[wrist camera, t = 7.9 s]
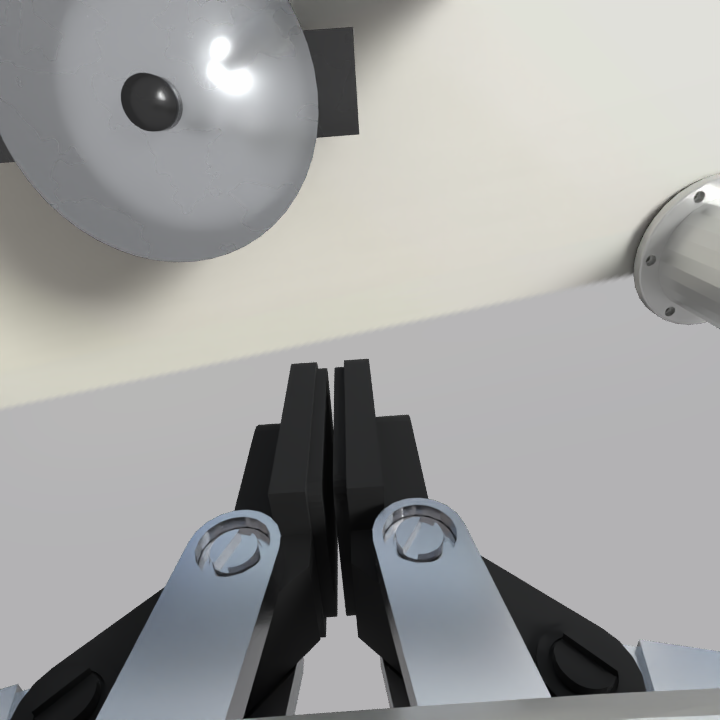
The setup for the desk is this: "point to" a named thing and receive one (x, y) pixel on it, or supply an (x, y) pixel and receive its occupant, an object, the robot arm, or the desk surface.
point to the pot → (319, 83)
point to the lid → (160, 117)
